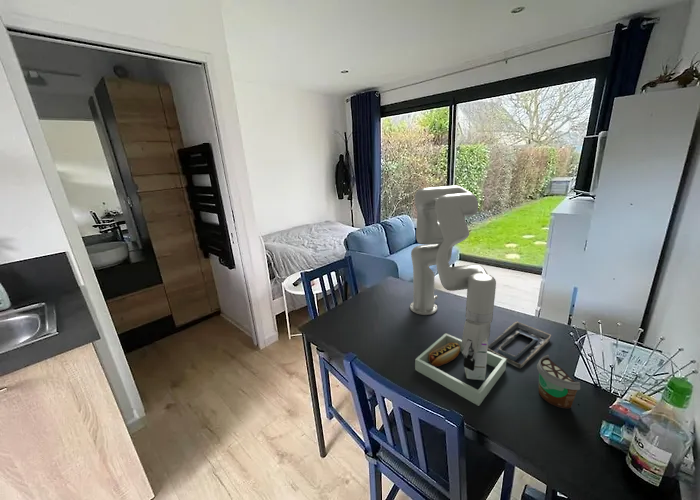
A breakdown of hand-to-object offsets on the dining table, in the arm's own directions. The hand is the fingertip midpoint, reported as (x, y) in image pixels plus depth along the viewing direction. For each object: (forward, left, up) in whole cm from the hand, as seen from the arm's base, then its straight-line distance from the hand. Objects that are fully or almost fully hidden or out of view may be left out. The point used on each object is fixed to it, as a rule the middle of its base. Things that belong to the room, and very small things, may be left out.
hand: (475, 361), depth 92 cm
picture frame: (-26, +5, -7) cm, 27 cm away
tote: (0, -5, -6) cm, 8 cm away
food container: (-7, +19, -6) cm, 21 cm away
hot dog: (-1, -11, -7) cm, 13 cm away
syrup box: (0, 0, -5) cm, 5 cm away
